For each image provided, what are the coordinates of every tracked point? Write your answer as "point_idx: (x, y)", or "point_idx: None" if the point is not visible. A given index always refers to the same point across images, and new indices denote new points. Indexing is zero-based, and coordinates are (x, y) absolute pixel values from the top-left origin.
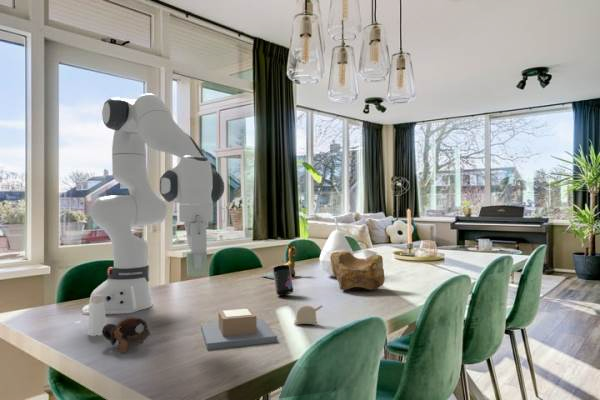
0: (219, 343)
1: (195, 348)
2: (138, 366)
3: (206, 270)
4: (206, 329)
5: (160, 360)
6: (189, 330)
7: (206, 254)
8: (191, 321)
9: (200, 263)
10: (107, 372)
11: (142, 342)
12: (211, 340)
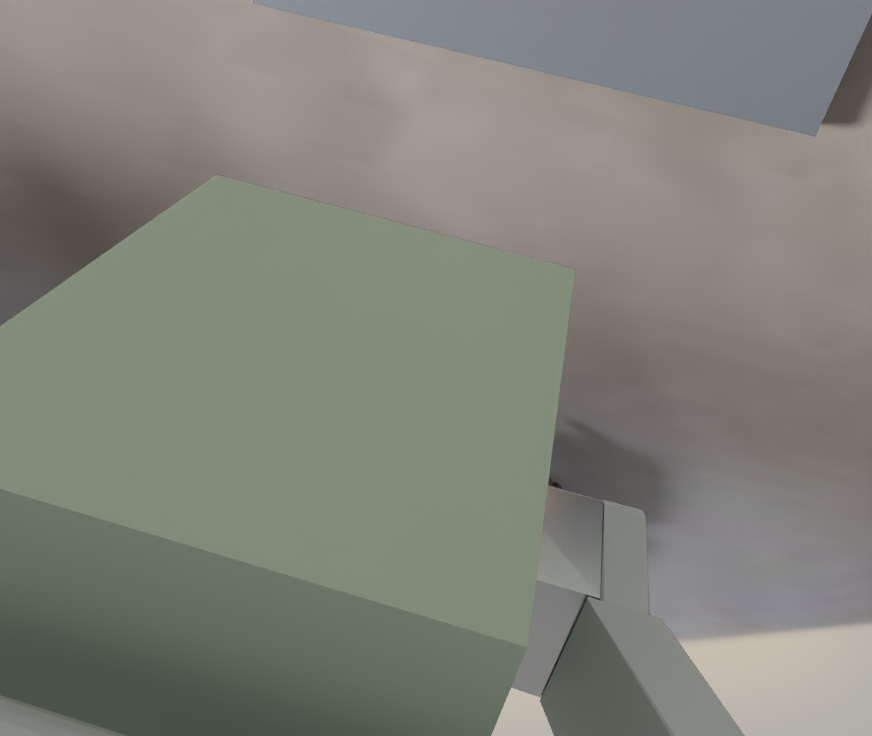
0: (861, 26)
1: (713, 187)
2: (781, 519)
3: (567, 329)
4: (439, 12)
5: (776, 420)
6: (266, 95)
7: (525, 603)
8: (22, 3)
9: (640, 590)
10: (754, 619)
11: (559, 485)
12: (766, 76)
